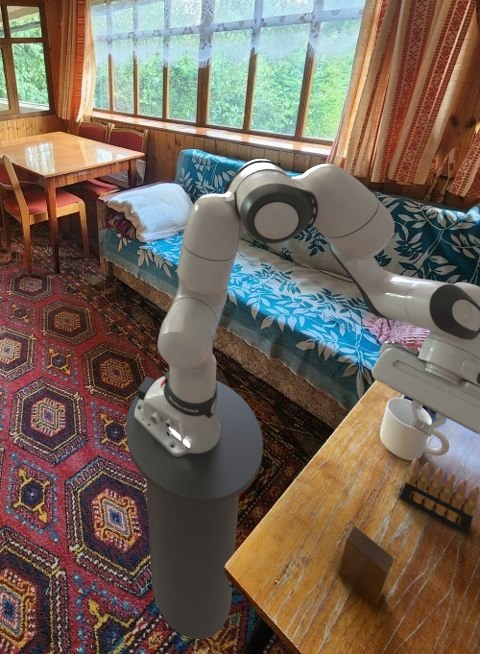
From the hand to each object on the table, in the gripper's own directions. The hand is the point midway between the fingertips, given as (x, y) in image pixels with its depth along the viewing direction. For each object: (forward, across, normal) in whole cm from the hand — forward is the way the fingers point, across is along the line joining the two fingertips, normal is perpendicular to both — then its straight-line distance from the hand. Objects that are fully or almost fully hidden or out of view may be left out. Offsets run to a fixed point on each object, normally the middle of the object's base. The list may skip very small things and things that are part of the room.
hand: (420, 431), depth 69 cm
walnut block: (+28, 0, +1) cm, 29 cm away
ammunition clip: (+13, +5, +18) cm, 22 cm away
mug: (+4, -2, +26) cm, 26 cm away
